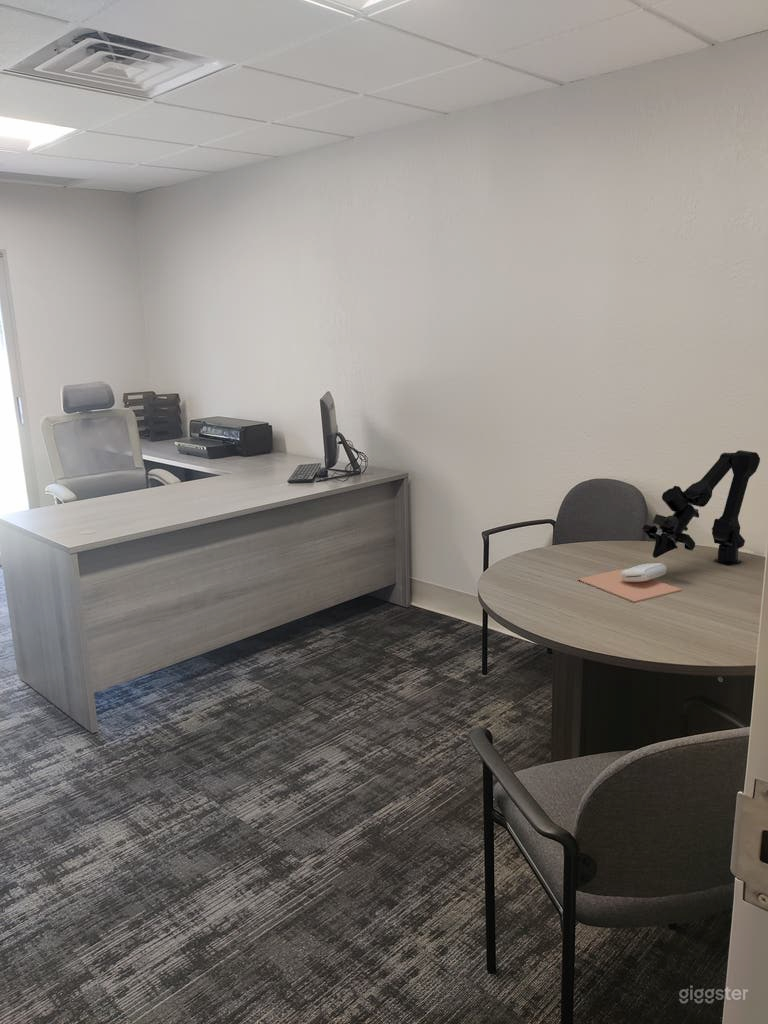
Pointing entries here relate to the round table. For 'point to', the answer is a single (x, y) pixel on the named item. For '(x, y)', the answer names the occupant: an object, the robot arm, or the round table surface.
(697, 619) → the round table surface
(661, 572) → the photo printer
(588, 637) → the round table surface
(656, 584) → the mat
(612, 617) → the round table surface
